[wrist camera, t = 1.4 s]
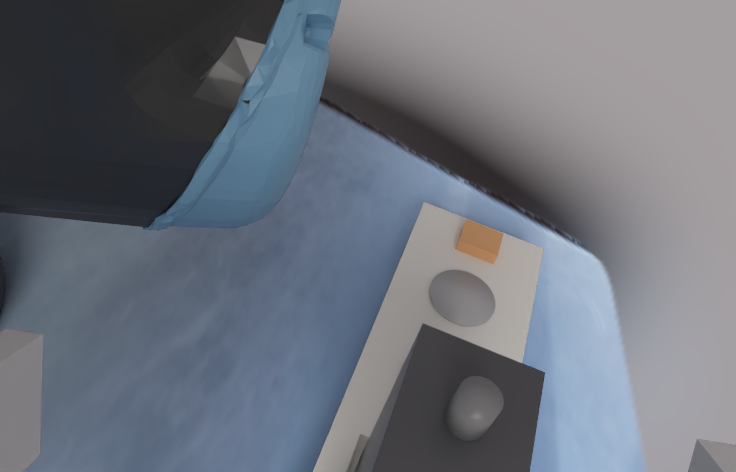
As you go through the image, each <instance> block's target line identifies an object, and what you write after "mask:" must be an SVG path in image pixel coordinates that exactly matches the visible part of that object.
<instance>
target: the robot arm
mask: <svg viewBox="0 0 736 472" xmlns="http://www.w3.org/2000/svg"><path fill="white" fill-rule="evenodd" d="M340 3H341V0H0V212H5V213H15V214H24V215H34V216H44V217H53V218H63V219H73V220H82V221H92V222H102V223H111V224H121V225H131V226H140V227H142V228H143V229H147V230H152V229H153V230H161V229H165V228H167V227H169V226H182V227H214V228H236V227H241V226H245V225H248V224H250V223H253V222H255V221H257V220H259V219H261V218H263V217H264V216H265V215H266V214H268V213H269V212H270V211H271V210H272V209H273V208H274V207H275V205H276V204H277V203H278V202H279V201H280V199H281V198H282V196H283V194H284V193H285V191H286V189H287V188H288V186H289V184H290V182H291V179H292V177H293V175H294V173H295V171H296V168H297V166H298V164H299V161H300V159H301V156H302V153H303V151H304V148H305V145H306V142H307V139H308V136H309V133H310V130H311V127H312V124H313V120H314V117H315V114H316V110H317V107H318V103H319V100H320V96H321V93H322V89H323V84H324V80H325V76H326V72H327V67H328V63H329V45H328V41H329V39H330V38H331V36H332V33H333V30H334V26H335V21H336V18H337V14H338V10H339V7H340ZM4 293H5V276H4V269H3V265H2V261H1V258H0V312H1V308H2V305H3V300H4ZM42 361H43V334H39V333H32V332H26V331H20V330H13V329H5V330H3V331H1V332H0V472H23V471H24V470H26V469H27V468H28V467H29V466H30V465H31V464H32V463H33V462H34V461H35V460H36V459H37V458H38V457H39V456H40V436H41V399H42ZM688 472H736V445H732V444H726V443H720V442H713V441H708V440H701V439H697V441H696V445H695V449H694V452H693V456H692V460H691V463H690V466H689V470H688Z"/></svg>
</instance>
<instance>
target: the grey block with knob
mask: <svg viewBox="0 0 736 472" xmlns="http://www.w3.org/2000/svg"><path fill="white" fill-rule="evenodd" d="M544 375H545V372H542V371H540V370H537V369H535V368H532V367H530V366H527V365H525V364H522V363H520V362H517V361H515V360H513V359H510V358H508V357H505V356H503V355H500V354H498V353H495V352H493V351H490V350H488V349H485V348H483V347H480V346H478V345H476V344H473V343H471V342H468V341H466V340H463V339H461V338H458V337H456V336H453V335H451V334H448V333H446V332H443V331H441V330H438V329H436V328H434V327H431V326H429V325H426V324H424V323H423V324H422V326H421V328H420V330H419V332H418V334H417V337H416V339H415V341H414V343H413V345H412V347H411V349H410V352H409V354H408V356H407V358H406V360H405V362H404V364H403V367H402V369H401V371H400V373H399V375H398V377H397V379H396V382H395V384H394V386H393V388H392V390H391V392H390V394H389V396H388V399H387V401H386V403H385V405H384V407H383V409H382V411H381V414H380V416H379V418H378V420H377V422H376V424H375V426H374V429H373V431H372V433H371V435H370V437H369V439H368V441H367V444H366V446H365V448H364V450H363V452H362V454H361V456H360V459H359V461H358V464H357V467H356V469H355V472H530V465H531V459H532V452H533V446H534V440H535V433H536V427H537V420H538V414H539V407H540V401H541V395H542V388H543V382H544Z"/></svg>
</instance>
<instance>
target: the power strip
mask: <svg viewBox="0 0 736 472" xmlns="http://www.w3.org/2000/svg"><path fill="white" fill-rule="evenodd" d="M543 250H544V248H541V247H539V246H536V245H534V244H531V243H528V242H526V241H523V240H521V239H518V238H516V237H513V236H510V235H508V234H505V233H503V232H500V231H498V230H495V229H493V228H490V227H487V226H485V225H482V224H480V223H477V222H475V221H472V220H470V219H467V218H464V217H462V216H459V215H457V214H454V213H452V212H449V211H446V210H444V209H441V208H439V207H436V206H434V205H431V204H429V203H426V202H424V204H423V206H422V208H421V211H420V213H419V216H418V218H417V221H416V223H415V225H414V228H413V230H412V233H411V235H410V237H409V240H408V242H407V245H406V247H405V250H404V252H403V254H402V257H401V259H400V262H399V264H398V267H397V269H396V271H395V274H394V276H393V279H392V281H391V283H390V286H389V288H388V291H387V293H386V296H385V298H384V300H383V303H382V305H381V308H380V310H379V313H378V315H377V317H376V320H375V322H374V325H373V327H372V329H371V332H370V334H369V337H368V339H367V342H366V344H365V346H364V349H363V351H362V354H361V356H360V358H359V361H358V363H357V366H356V368H355V371H354V373H353V375H352V378H351V380H350V383H349V385H348V388H347V390H346V392H345V395H344V397H343V400H342V402H341V404H340V407H339V409H338V412H337V414H336V417H335V419H334V421H333V424H332V426H331V429H330V431H329V434H328V436H327V438H326V441H325V443H324V446H323V448H322V450H321V453H320V455H319V458H318V460H317V463H316V465H315V467H314V470H313V472H355V469H356V467H357V464H358V461H359V459H360V456H361V454H362V452H363V450H364V448H365V446H366V444H367V441H368V439H369V437H370V435H371V433H372V431H373V429H374V426H375V424H376V422H377V420H378V418H379V416H380V414H381V411H382V409H383V407H384V405H385V403H386V401H387V399H388V396H389V394H390V392H391V390H392V388H393V386H394V384H395V382H396V379H397V377H398V375H399V373H400V371H401V369H402V367H403V364H404V362H405V360H406V358H407V356H408V354H409V352H410V349H411V347H412V345H413V343H414V341H415V339H416V337H417V334H418V332H419V330H420V328H421V326H422V324H423V323H424V324H426V325H429V326H431V327H434V328H436V329H438V330H441V331H443V332H446V333H448V334H451V335H453V336H456V337H458V338H461V339H463V340H466V341H468V342H471V343H473V344H476V345H478V346H480V347H483V348H485V349H488V350H490V351H493V352H495V353H498V354H500V355H503V356H505V357H508V358H510V359H513V360H515V361H517V362H520V363H522V361H523V356H524V351H525V346H526V340H527V335H528V330H529V324H530V319H531V314H532V308H533V303H534V298H535V293H536V287H537V282H538V277H539V271H540V266H541V261H542V256H543Z"/></svg>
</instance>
